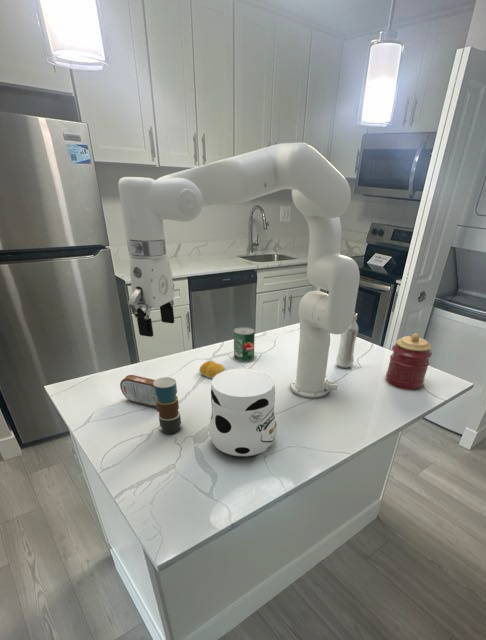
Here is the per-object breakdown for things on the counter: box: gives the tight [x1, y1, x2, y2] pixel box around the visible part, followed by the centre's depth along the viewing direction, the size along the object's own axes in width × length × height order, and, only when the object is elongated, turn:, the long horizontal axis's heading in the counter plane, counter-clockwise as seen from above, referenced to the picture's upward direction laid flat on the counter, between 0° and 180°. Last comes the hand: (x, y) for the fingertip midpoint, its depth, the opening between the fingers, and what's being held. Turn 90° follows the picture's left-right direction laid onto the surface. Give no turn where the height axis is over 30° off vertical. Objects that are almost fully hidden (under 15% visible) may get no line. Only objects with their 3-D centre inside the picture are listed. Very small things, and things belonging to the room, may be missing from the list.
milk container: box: [209, 367, 278, 458], centre depth 94 cm, size 17×17×18 cm
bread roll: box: [199, 360, 226, 379], centre depth 131 cm, size 8×9×4 cm
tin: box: [119, 374, 157, 408], centre depth 111 cm, size 15×3×8 cm, turn 71°
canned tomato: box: [233, 326, 256, 363], centre depth 142 cm, size 8×8×11 cm
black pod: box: [158, 410, 182, 435], centre depth 101 cm, size 6×6×5 cm
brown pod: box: [156, 395, 180, 419], centre depth 99 cm, size 6×6×5 cm
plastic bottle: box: [335, 312, 360, 369], centre depth 137 cm, size 6×7×20 cm
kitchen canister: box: [385, 333, 433, 390], centre depth 128 cm, size 13×13×18 cm
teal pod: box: [153, 376, 178, 403], centre depth 96 cm, size 6×6×5 cm
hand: (157, 328), depth 87 cm, fingers open, 9 cm apart
